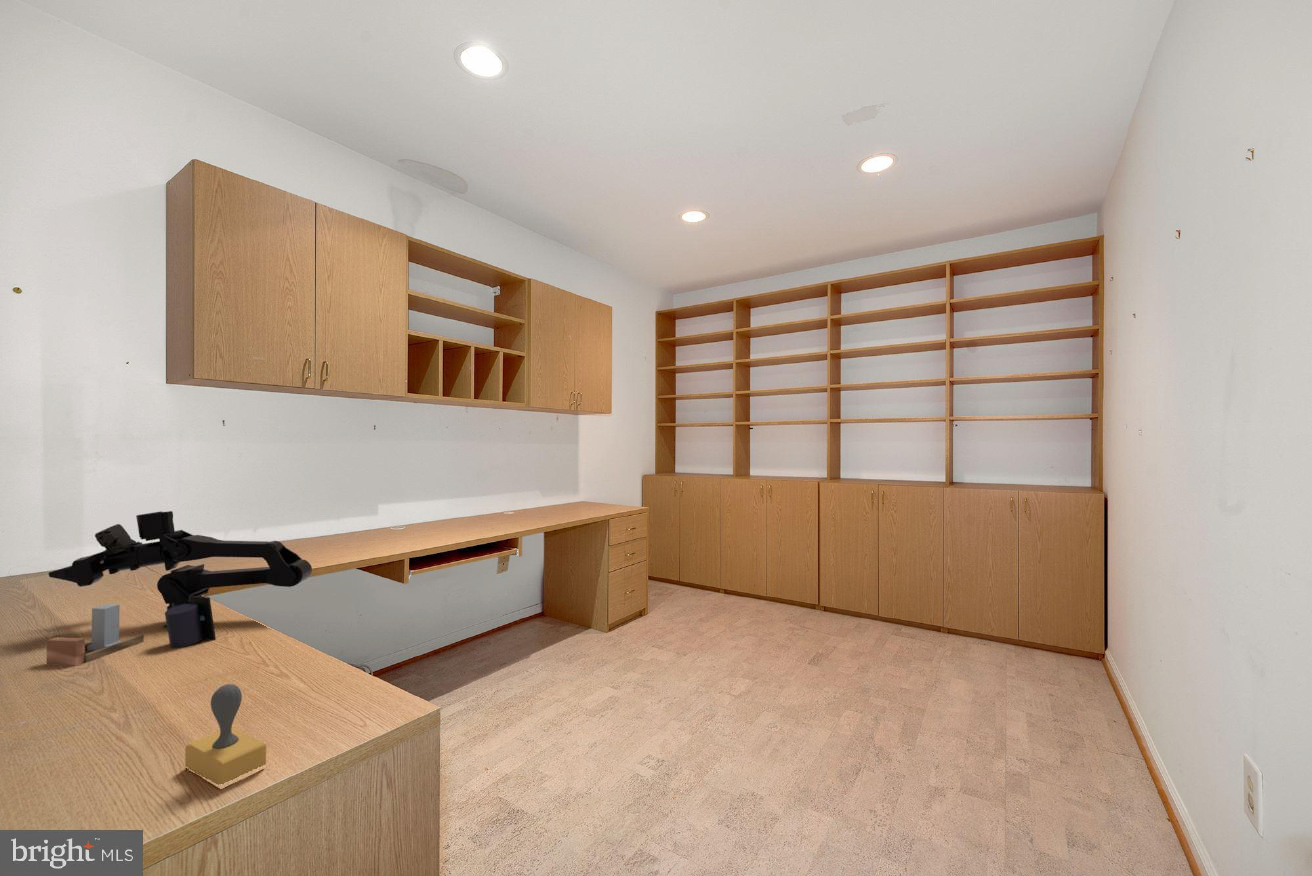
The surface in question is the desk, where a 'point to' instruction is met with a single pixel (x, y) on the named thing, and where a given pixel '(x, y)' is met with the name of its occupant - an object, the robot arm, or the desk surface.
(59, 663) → the guide track
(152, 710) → the desk surface
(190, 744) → the rubber stamp
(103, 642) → the sliding block
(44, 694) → the desk surface
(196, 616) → the speaker
